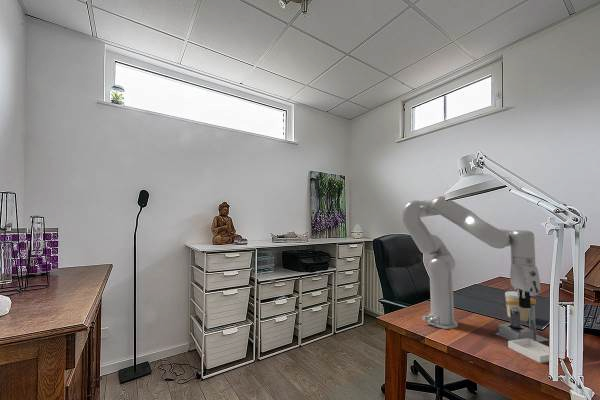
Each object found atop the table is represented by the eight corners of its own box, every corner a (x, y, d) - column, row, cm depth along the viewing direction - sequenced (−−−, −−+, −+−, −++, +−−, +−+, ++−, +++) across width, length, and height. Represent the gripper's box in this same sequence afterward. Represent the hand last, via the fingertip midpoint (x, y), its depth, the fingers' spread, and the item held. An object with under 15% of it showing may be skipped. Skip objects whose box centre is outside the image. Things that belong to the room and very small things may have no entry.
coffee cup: (518, 314, 134) (517, 290, 135) (535, 322, 125) (534, 296, 126) (501, 315, 134) (500, 291, 135) (516, 322, 125) (515, 297, 125)
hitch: (519, 346, 103) (517, 310, 104) (494, 334, 113) (493, 302, 113) (550, 341, 107) (548, 306, 107) (524, 330, 116) (522, 299, 117)
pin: (517, 339, 107) (515, 309, 108) (509, 336, 110) (507, 306, 111) (523, 338, 108) (521, 308, 108) (515, 335, 111) (513, 306, 112)
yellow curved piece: (511, 306, 107) (511, 302, 107) (504, 304, 110) (504, 300, 110) (537, 303, 111) (537, 300, 111) (530, 301, 114) (530, 297, 114)
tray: (540, 364, 90) (540, 356, 91) (508, 348, 101) (508, 341, 101) (562, 360, 93) (561, 352, 93) (528, 345, 103) (528, 338, 104)
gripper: (548, 265, 99) (551, 314, 98) (518, 258, 114) (520, 301, 113) (527, 264, 100) (529, 314, 99) (500, 258, 115) (502, 301, 114)
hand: (524, 307), depth 106 cm, fingers closed
